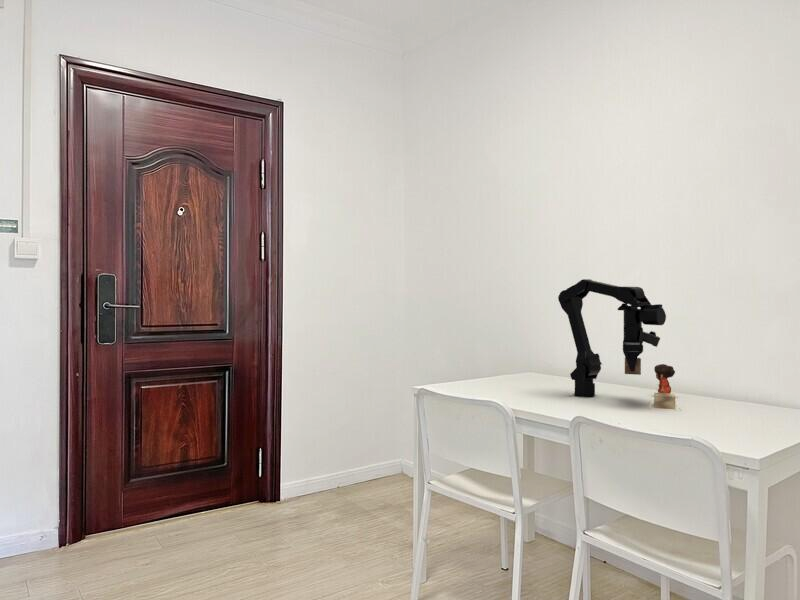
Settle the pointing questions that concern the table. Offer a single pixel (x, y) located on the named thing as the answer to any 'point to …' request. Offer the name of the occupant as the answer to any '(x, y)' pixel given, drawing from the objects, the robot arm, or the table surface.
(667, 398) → the oak base block
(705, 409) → the table surface
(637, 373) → the walnut cube
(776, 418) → the table surface
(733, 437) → the table surface
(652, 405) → the mat
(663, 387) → the figurine
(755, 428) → the table surface
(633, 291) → the robot arm
